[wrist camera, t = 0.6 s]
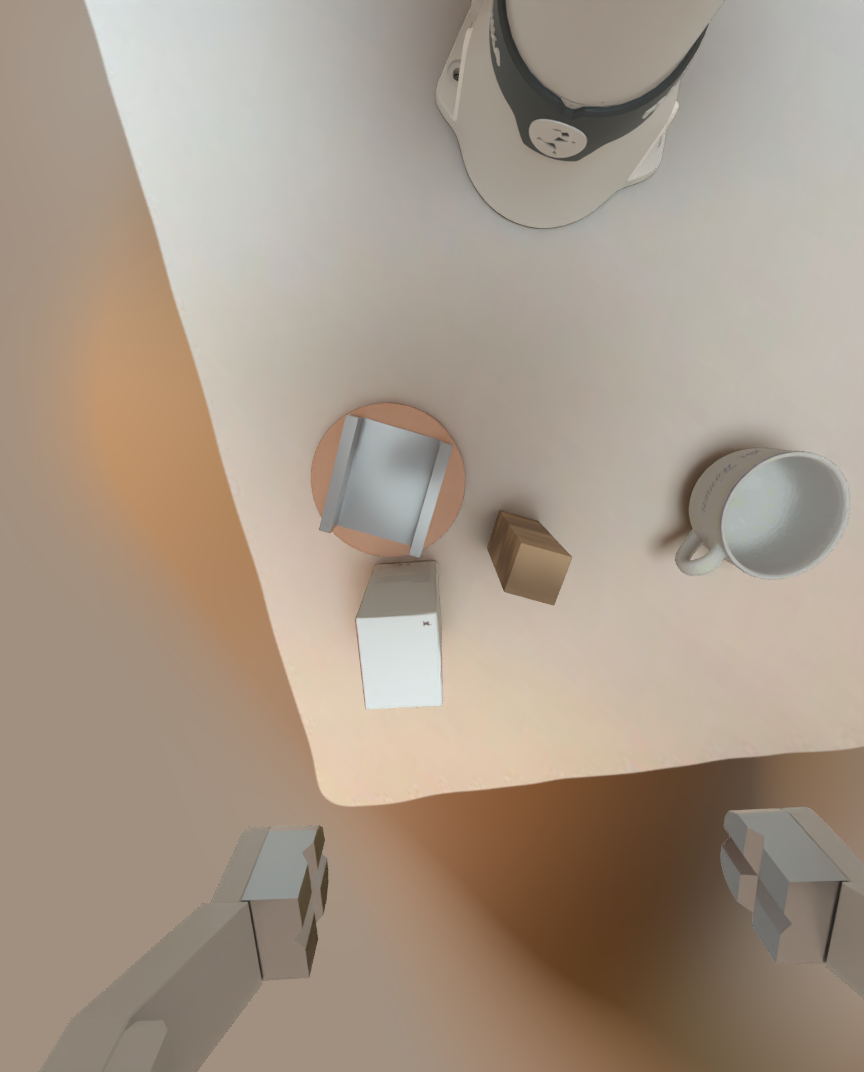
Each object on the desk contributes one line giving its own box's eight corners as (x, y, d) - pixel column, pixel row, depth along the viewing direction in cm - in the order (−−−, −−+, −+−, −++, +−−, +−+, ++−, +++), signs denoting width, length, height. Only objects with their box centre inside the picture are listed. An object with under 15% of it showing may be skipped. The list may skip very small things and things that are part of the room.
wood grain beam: (499, 510, 48) (521, 542, 36) (538, 521, 48) (572, 557, 37) (487, 548, 49) (504, 591, 37) (525, 558, 49) (554, 605, 38)
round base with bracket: (335, 384, 45) (321, 380, 39) (482, 427, 46) (489, 430, 40) (303, 527, 48) (285, 543, 43) (439, 565, 49) (440, 586, 44)
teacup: (769, 424, 46) (838, 428, 38) (800, 527, 48) (870, 549, 41) (628, 488, 47) (666, 503, 40) (664, 584, 50) (706, 616, 42)
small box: (373, 563, 49) (353, 616, 37) (437, 559, 49) (438, 611, 37) (381, 637, 51) (364, 711, 39) (442, 633, 51) (445, 707, 39)
